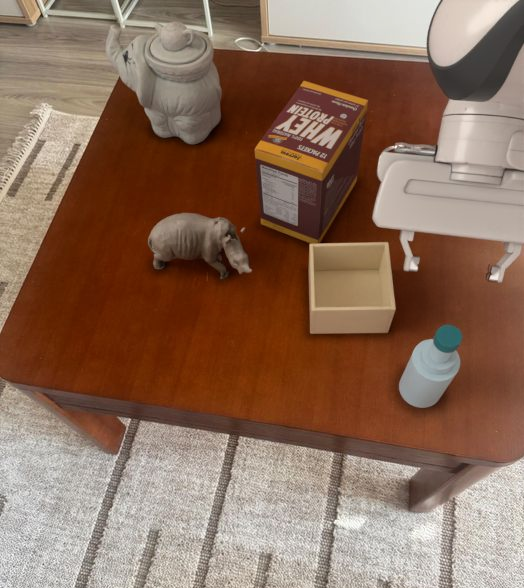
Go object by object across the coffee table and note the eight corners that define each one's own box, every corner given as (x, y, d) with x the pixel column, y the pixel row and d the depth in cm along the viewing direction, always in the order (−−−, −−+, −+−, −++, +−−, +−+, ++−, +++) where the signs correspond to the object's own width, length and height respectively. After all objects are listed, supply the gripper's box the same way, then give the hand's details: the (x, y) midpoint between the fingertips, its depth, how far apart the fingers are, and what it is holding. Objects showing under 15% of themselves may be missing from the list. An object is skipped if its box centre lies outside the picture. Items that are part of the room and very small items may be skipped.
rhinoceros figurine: (149, 217, 83) (184, 175, 70) (223, 258, 89) (268, 226, 76) (131, 259, 80) (165, 223, 68) (209, 298, 86) (253, 272, 73)
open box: (381, 269, 79) (388, 241, 74) (387, 332, 75) (395, 309, 69) (308, 270, 80) (309, 243, 74) (310, 333, 75) (311, 310, 69)
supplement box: (358, 180, 88) (370, 98, 74) (318, 247, 82) (323, 172, 68) (302, 161, 90) (303, 78, 76) (259, 224, 85) (253, 148, 71)
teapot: (124, 111, 98) (88, 8, 82) (196, 82, 101) (176, -24, 84) (160, 166, 92) (129, 66, 75) (236, 133, 94) (223, 28, 77)
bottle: (438, 369, 72) (471, 313, 58) (444, 407, 69) (480, 358, 56) (396, 369, 72) (420, 313, 59) (401, 408, 69) (426, 359, 56)
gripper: (382, 138, 55) (361, 269, 60) (590, 157, 52) (551, 293, 57) (380, 142, 61) (361, 260, 66) (566, 159, 58) (533, 282, 63)
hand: (451, 276), depth 61 cm, fingers open, 8 cm apart
